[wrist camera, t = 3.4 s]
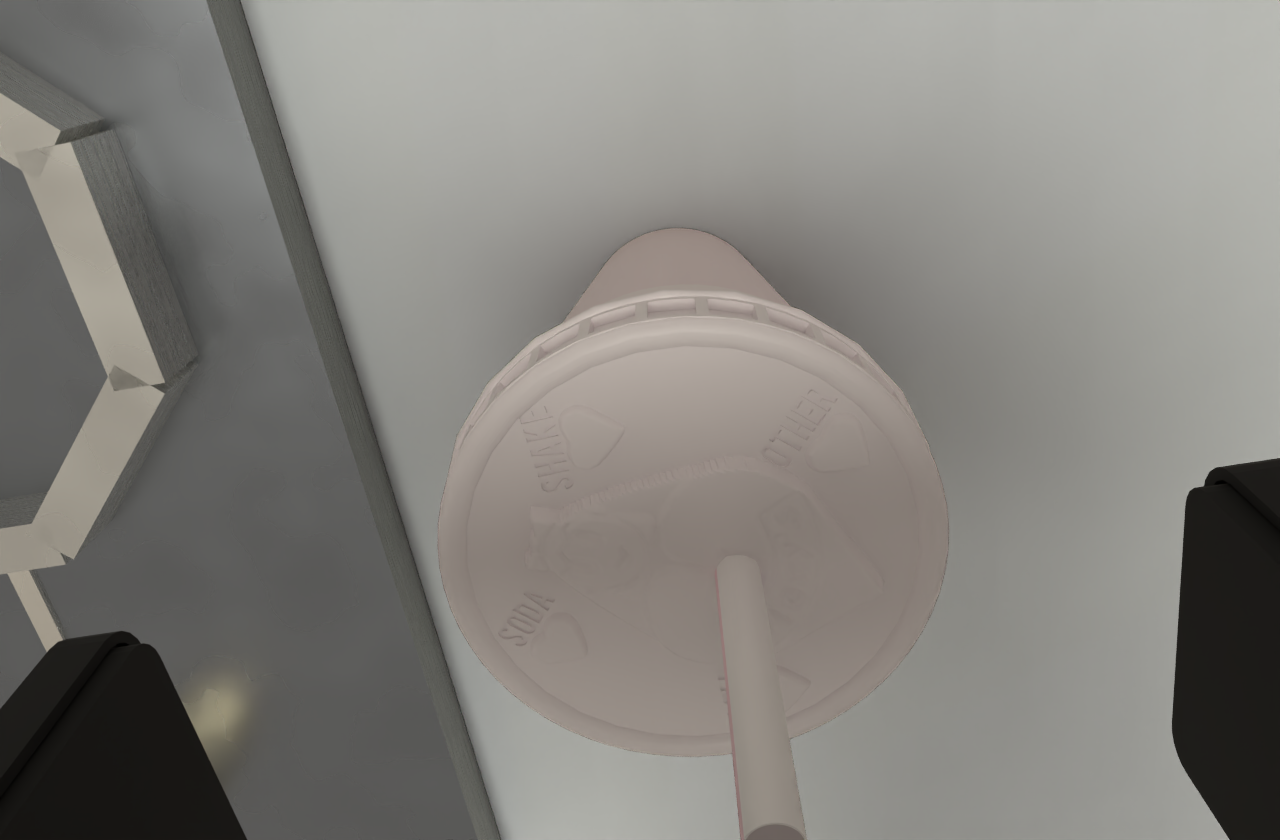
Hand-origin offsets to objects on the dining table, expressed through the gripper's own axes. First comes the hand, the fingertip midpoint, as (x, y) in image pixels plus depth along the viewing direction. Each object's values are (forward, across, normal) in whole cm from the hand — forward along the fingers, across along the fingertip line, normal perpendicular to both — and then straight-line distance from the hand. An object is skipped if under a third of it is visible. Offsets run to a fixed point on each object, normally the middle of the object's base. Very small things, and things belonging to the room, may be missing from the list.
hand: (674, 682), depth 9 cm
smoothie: (+13, 0, +1) cm, 13 cm away
